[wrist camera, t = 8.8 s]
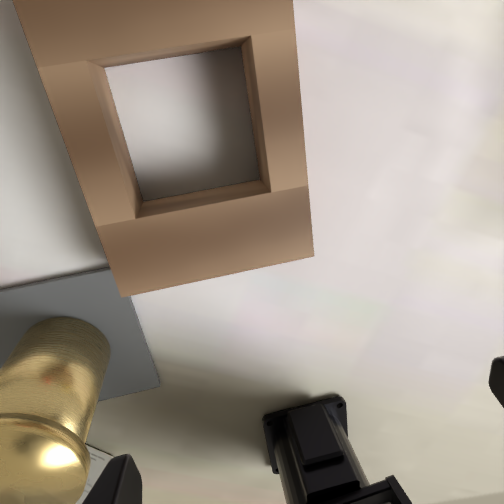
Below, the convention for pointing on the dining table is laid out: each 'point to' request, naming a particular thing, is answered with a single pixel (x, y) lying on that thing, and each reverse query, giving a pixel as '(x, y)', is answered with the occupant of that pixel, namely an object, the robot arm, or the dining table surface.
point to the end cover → (49, 411)
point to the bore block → (117, 155)
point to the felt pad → (89, 310)
